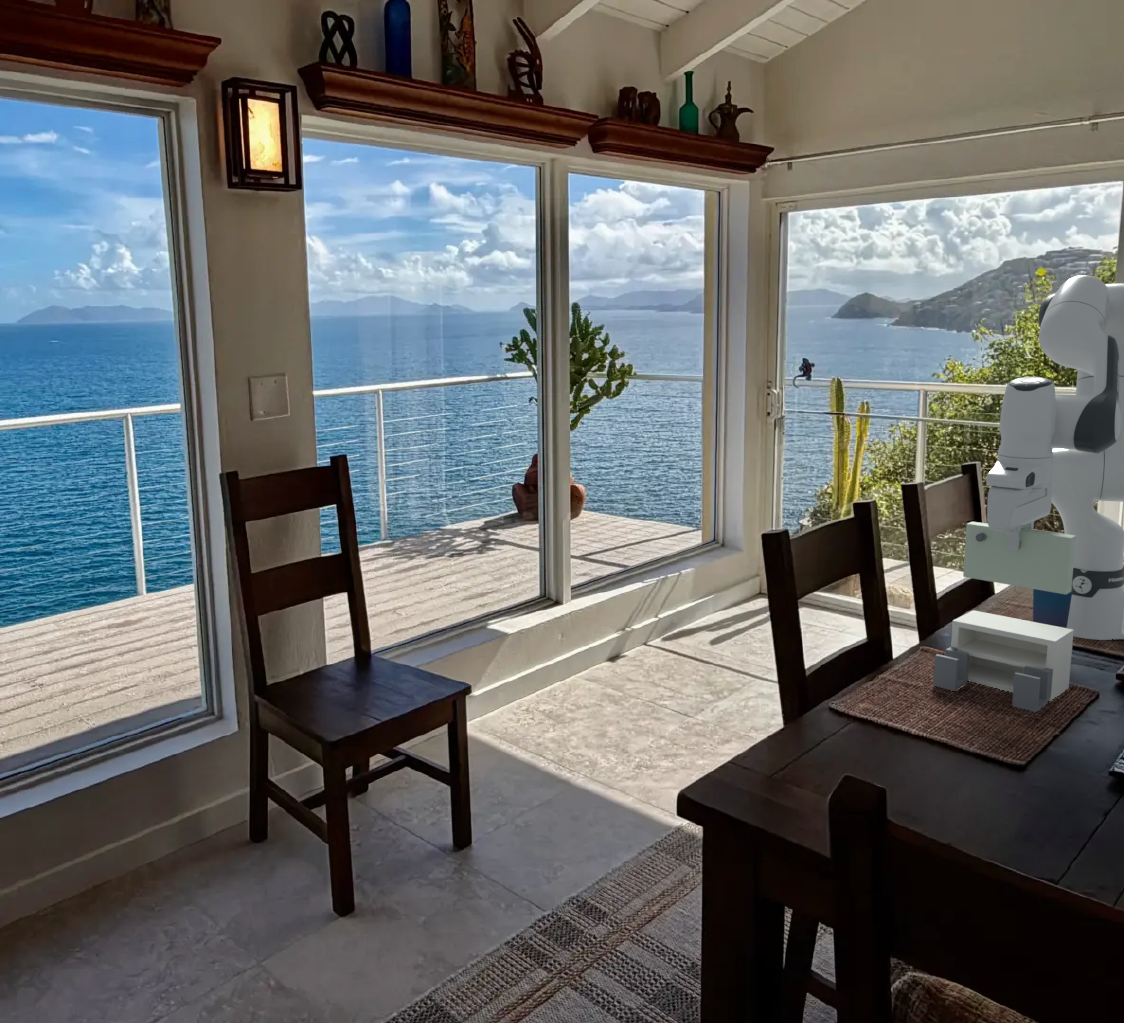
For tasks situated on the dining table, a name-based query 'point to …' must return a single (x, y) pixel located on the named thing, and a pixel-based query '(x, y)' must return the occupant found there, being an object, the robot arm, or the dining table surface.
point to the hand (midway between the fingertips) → (1018, 548)
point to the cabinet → (1007, 657)
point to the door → (1020, 558)
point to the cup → (1051, 607)
